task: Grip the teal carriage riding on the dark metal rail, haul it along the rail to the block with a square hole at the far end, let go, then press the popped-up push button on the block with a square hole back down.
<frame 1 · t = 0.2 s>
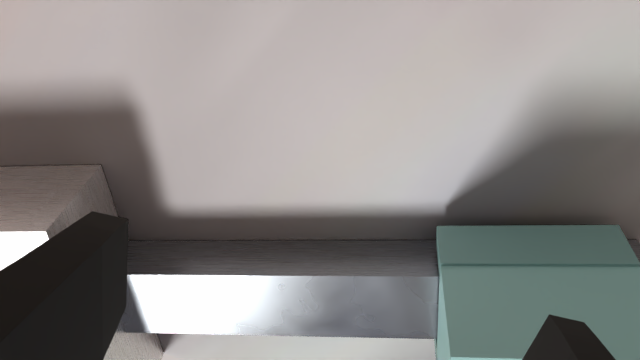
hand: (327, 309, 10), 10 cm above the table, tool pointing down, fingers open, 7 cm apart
carriage: (534, 342, 19), point 3 cm above the table, slide at 0.0 cm
rail: (368, 270, 22), on the table
block with square hole: (56, 269, 24), on the table
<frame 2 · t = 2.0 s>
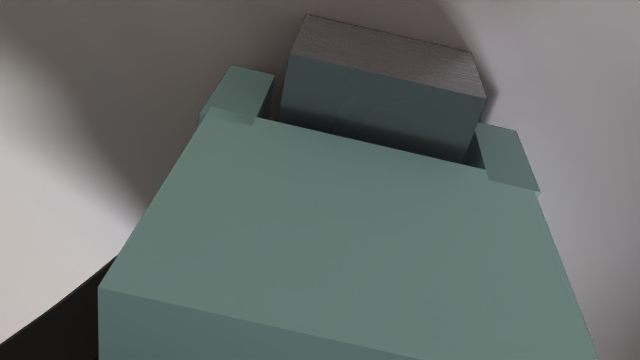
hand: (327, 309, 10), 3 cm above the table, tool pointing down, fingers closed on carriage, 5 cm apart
carriage: (324, 333, 9), point 3 cm above the table, slide at 0.0 cm, touching gripper
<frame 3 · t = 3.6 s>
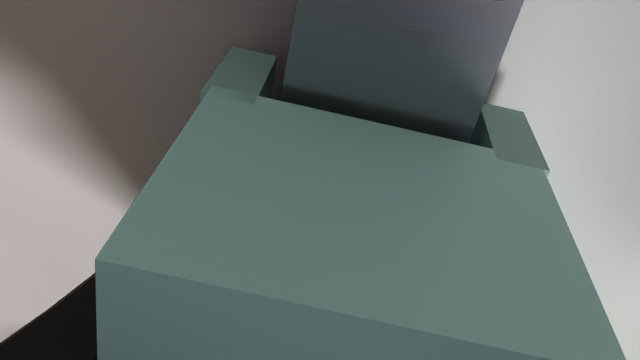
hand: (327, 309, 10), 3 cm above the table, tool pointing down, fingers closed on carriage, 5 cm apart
carriage: (328, 318, 9), point 3 cm above the table, slide at 6.5 cm, touching gripper
rail: (354, 157, 12), on the table
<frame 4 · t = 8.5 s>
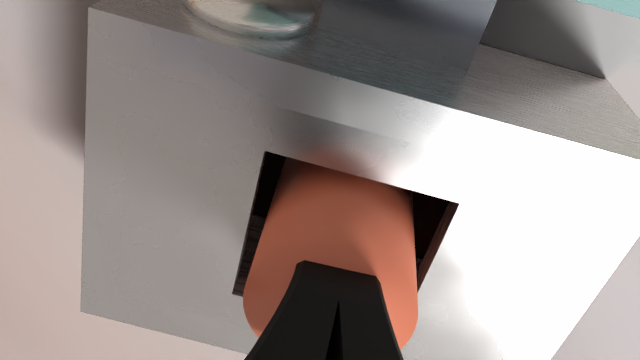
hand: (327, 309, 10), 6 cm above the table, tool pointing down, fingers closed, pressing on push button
push button: (338, 239, 12), point 4 cm above the table, slide at -0.9 cm, touching gripper
block with square hole: (349, 151, 15), on the table
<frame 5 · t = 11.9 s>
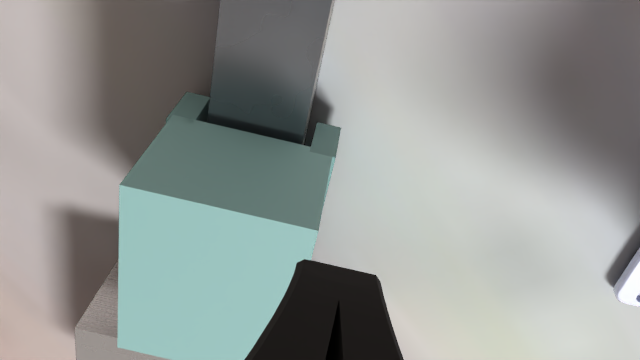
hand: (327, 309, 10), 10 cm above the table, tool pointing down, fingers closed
carriage: (232, 232, 18), point 3 cm above the table, slide at 9.5 cm
rail: (272, 74, 19), on the table
block with square hole: (227, 339, 26), on the table
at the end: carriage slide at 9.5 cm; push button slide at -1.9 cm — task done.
